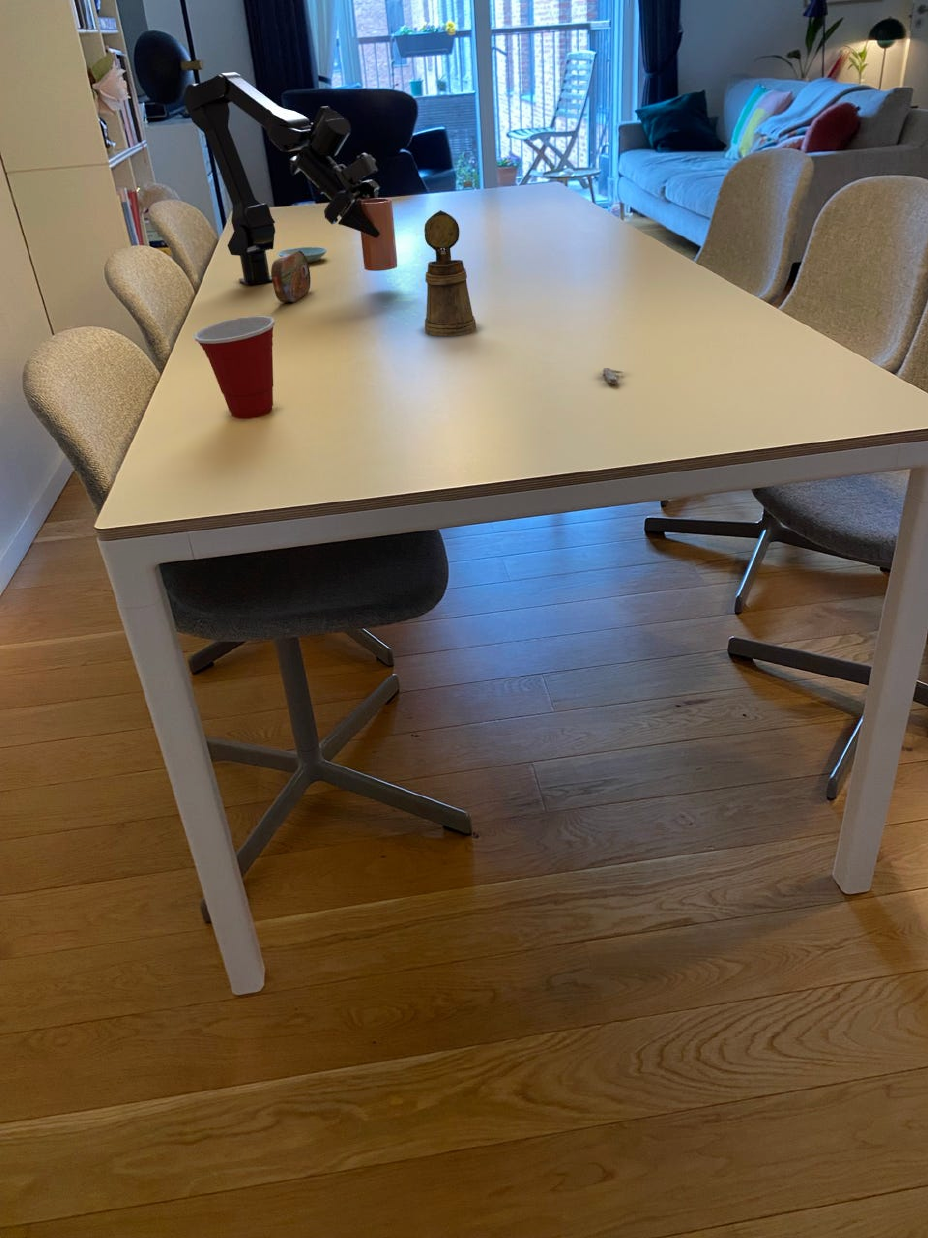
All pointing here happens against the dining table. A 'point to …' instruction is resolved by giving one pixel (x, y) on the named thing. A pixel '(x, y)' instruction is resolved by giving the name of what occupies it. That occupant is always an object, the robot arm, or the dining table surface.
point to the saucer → (307, 253)
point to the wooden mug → (446, 281)
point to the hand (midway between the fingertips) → (384, 232)
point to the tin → (291, 276)
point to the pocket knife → (610, 375)
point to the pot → (382, 248)
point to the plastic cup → (242, 363)
